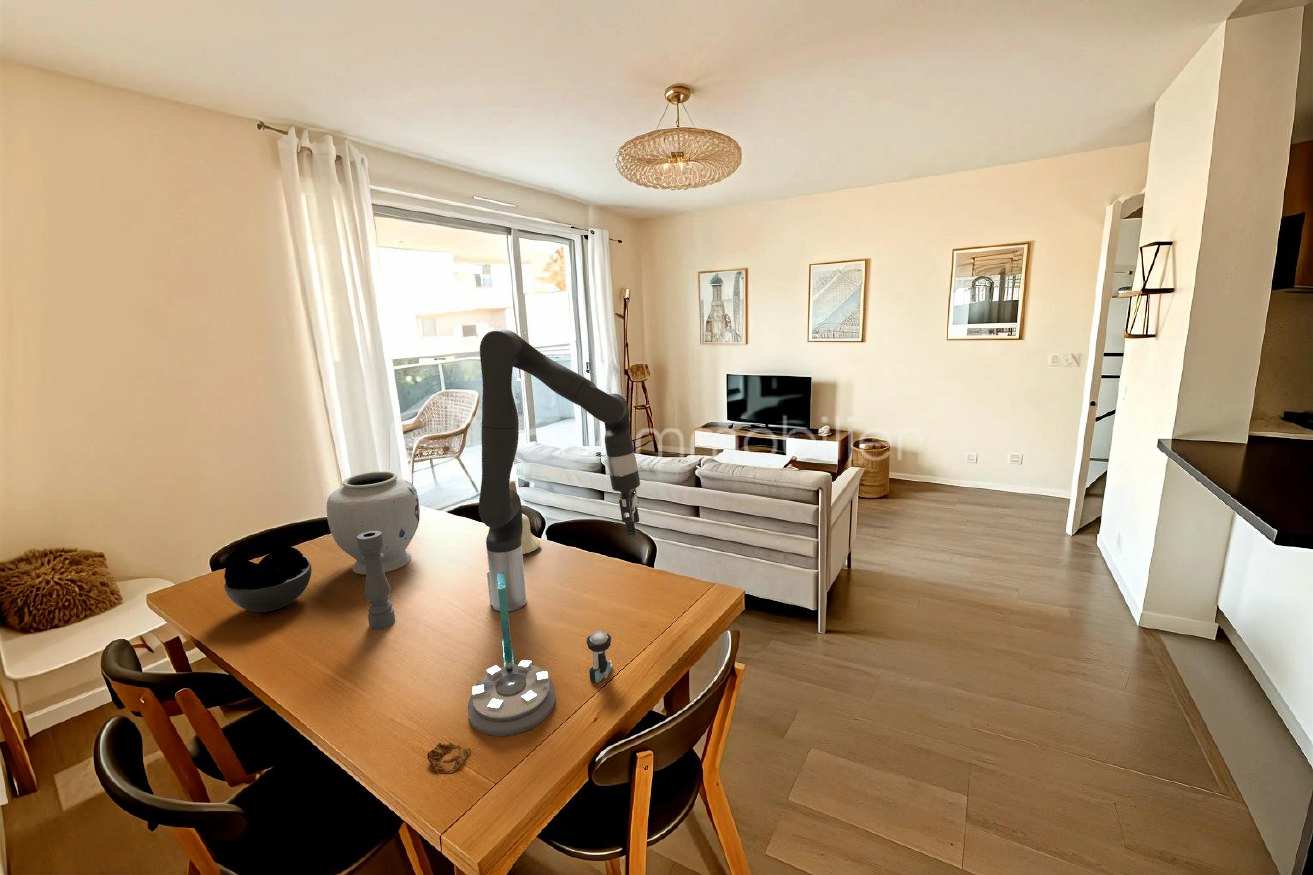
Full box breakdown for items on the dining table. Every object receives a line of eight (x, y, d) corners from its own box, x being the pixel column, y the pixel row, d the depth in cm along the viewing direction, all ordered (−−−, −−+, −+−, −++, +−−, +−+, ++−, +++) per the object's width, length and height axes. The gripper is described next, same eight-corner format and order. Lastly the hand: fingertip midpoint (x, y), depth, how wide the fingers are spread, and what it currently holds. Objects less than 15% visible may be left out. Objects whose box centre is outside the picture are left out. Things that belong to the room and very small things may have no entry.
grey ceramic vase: (442, 557, 183) (432, 472, 177) (365, 590, 161) (351, 494, 155) (396, 542, 197) (385, 463, 191) (319, 570, 175) (304, 482, 169)
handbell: (534, 559, 179) (529, 487, 174) (489, 560, 180) (482, 488, 175) (544, 540, 194) (539, 474, 189) (503, 541, 195) (496, 475, 190)
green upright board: (554, 710, 105) (547, 623, 101) (472, 730, 100) (462, 639, 96) (539, 640, 128) (534, 567, 125) (473, 653, 124) (465, 578, 120)
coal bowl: (332, 597, 157) (322, 536, 154) (258, 632, 140) (245, 565, 136) (289, 585, 166) (278, 527, 162) (215, 617, 148) (201, 553, 144)
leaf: (450, 781, 92) (451, 772, 92) (420, 765, 95) (420, 757, 94) (476, 756, 98) (477, 748, 98) (447, 742, 101) (447, 734, 100)
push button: (602, 662, 123) (600, 623, 121) (621, 670, 120) (619, 629, 118) (583, 679, 117) (581, 637, 115) (603, 687, 114) (600, 644, 112)
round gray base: (450, 716, 107) (449, 707, 107) (514, 669, 121) (513, 661, 121) (511, 748, 98) (510, 739, 98) (572, 694, 112) (571, 686, 112)
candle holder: (400, 619, 144) (388, 531, 139) (382, 631, 138) (368, 540, 133) (382, 616, 146) (369, 529, 141) (363, 628, 140) (349, 538, 135)
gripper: (613, 465, 148) (623, 520, 151) (604, 480, 134) (615, 540, 137) (640, 461, 147) (650, 517, 150) (634, 476, 133) (644, 537, 136)
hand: (633, 528), depth 144 cm, fingers open, 8 cm apart
